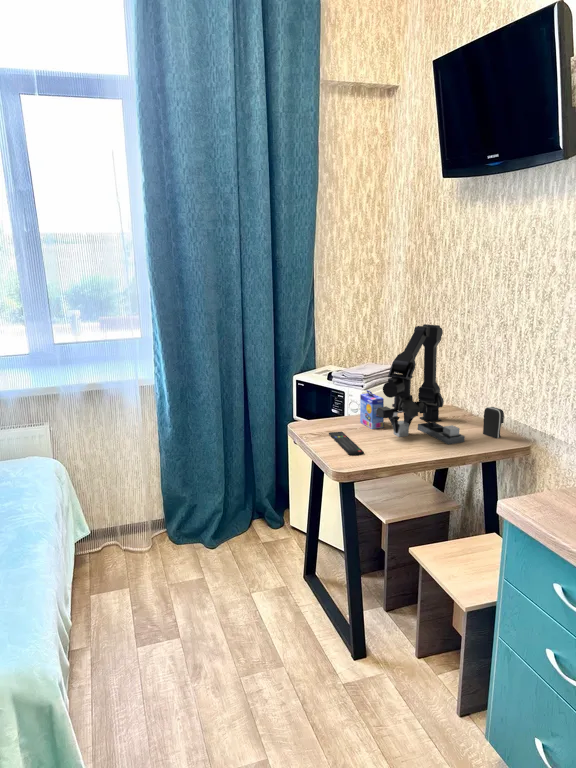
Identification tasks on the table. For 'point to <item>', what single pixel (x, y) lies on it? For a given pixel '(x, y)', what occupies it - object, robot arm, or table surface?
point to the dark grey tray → (439, 433)
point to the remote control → (346, 443)
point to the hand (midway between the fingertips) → (401, 432)
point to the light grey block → (451, 431)
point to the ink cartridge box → (371, 410)
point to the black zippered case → (493, 421)
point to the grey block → (402, 429)
